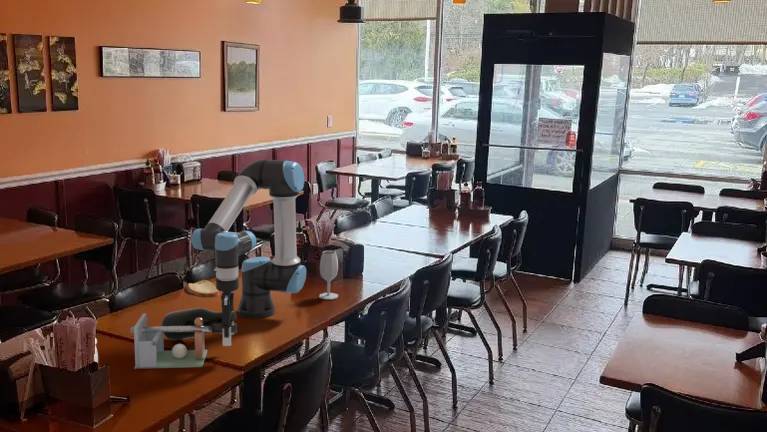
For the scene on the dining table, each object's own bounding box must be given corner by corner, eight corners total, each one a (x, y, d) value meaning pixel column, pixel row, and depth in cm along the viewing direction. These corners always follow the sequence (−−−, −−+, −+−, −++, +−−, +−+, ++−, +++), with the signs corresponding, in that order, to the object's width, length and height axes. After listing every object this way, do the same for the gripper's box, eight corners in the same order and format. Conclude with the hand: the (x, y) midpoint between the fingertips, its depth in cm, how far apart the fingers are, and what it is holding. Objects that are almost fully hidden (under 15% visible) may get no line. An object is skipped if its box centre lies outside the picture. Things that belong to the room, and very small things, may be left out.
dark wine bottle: (155, 322, 247) (217, 310, 229) (175, 307, 255) (236, 295, 237) (168, 346, 250) (231, 337, 232) (187, 330, 258) (249, 320, 240)
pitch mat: (207, 350, 243) (207, 349, 243) (202, 366, 230) (202, 365, 229) (143, 352, 240) (143, 351, 240) (134, 368, 227) (134, 367, 227)
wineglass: (315, 298, 305) (315, 253, 301) (324, 293, 313) (324, 249, 309) (333, 301, 302) (333, 255, 298) (341, 296, 310) (342, 251, 306)
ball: (188, 354, 238) (187, 341, 237) (185, 360, 233) (185, 346, 232) (173, 355, 237) (173, 341, 236) (170, 361, 232) (170, 347, 231)
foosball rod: (237, 350, 240) (237, 314, 238) (236, 357, 235) (235, 320, 232) (134, 352, 236) (132, 315, 233) (130, 359, 230) (128, 321, 227)
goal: (164, 351, 241) (162, 313, 238) (156, 368, 228) (154, 327, 225) (144, 352, 240) (143, 313, 238) (135, 368, 227) (133, 327, 224)
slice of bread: (217, 298, 303) (217, 290, 302) (178, 296, 304) (177, 288, 303) (229, 286, 321) (229, 278, 320) (191, 284, 322) (191, 277, 321)
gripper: (219, 268, 242) (220, 328, 247) (212, 288, 221) (213, 352, 225) (240, 268, 243) (241, 327, 248) (235, 287, 222) (236, 352, 226)
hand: (228, 339), depth 237 cm, fingers open, 10 cm apart
